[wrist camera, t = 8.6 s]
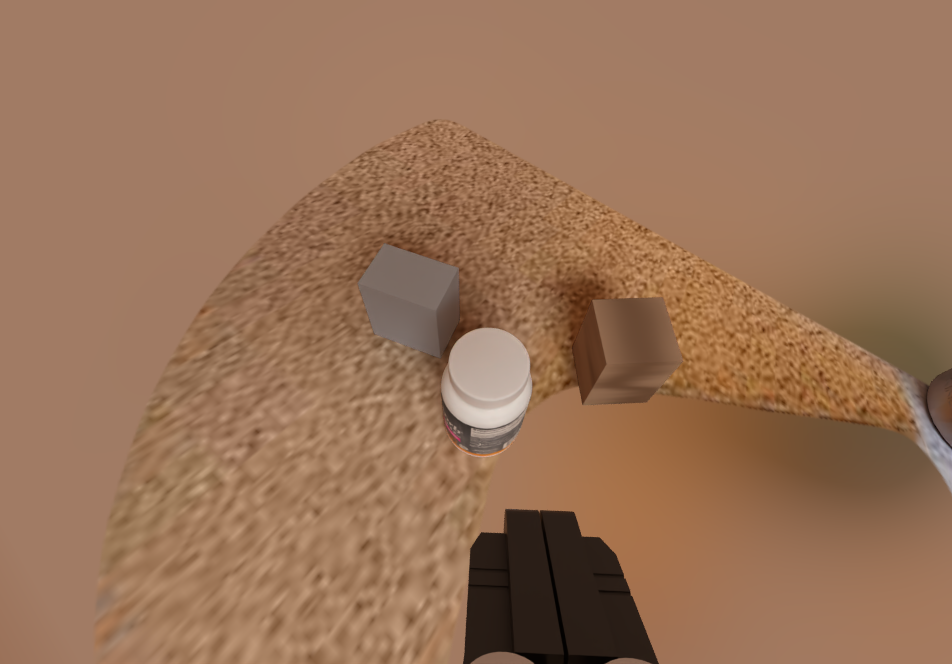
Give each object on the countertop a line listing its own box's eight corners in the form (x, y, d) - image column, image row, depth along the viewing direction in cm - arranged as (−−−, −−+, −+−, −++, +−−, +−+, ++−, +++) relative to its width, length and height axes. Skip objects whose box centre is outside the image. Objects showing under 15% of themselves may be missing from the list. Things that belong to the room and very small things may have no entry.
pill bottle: (436, 398, 35) (426, 332, 27) (506, 378, 36) (519, 308, 28) (456, 469, 33) (453, 421, 24) (532, 446, 34) (554, 392, 25)
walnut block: (631, 345, 38) (663, 297, 32) (646, 402, 36) (683, 361, 30) (572, 348, 38) (592, 299, 32) (582, 405, 35) (606, 364, 29)
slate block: (459, 319, 39) (458, 268, 33) (440, 358, 37) (435, 310, 31) (396, 297, 40) (384, 243, 34) (374, 334, 38) (357, 283, 32)
